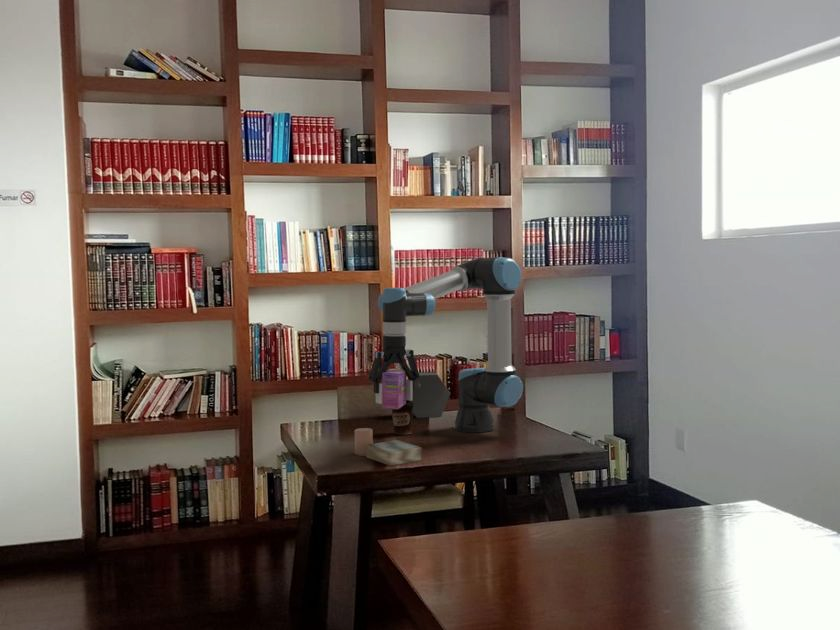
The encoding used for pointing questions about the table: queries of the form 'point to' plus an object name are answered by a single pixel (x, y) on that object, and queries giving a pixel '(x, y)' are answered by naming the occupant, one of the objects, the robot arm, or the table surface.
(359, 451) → the tan capsule cylinder
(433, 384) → the dark grey hexagonal block
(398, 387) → the box
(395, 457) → the mirror
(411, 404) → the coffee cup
